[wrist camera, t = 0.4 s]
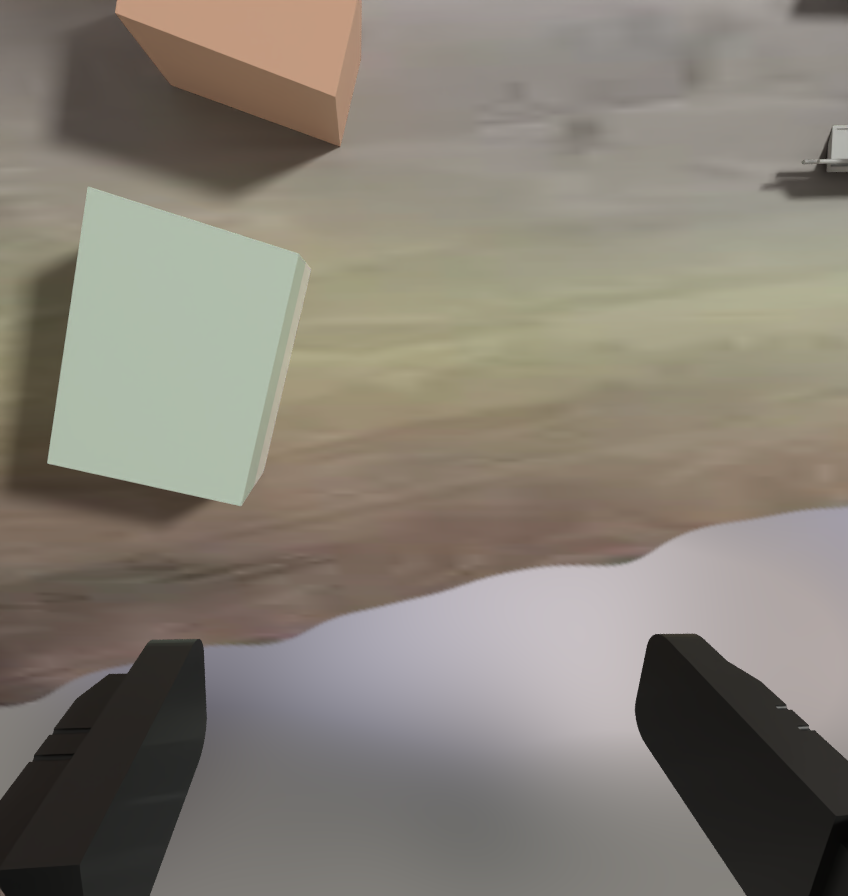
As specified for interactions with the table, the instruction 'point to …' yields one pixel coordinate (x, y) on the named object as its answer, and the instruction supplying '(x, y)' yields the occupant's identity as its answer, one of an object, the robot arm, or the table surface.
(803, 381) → the table surface
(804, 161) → the spaceship toy
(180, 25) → the terracotta brick
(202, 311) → the green and white block
